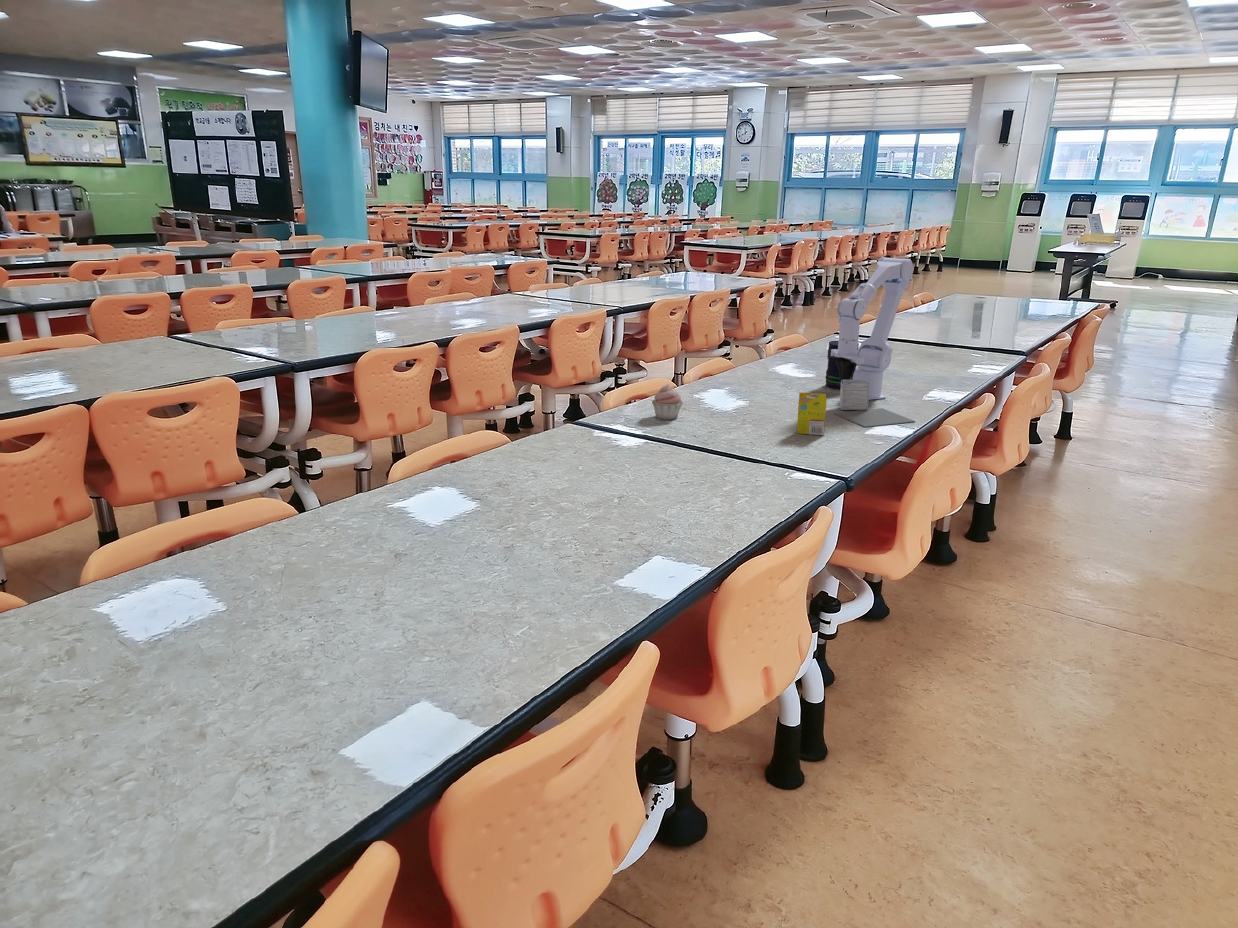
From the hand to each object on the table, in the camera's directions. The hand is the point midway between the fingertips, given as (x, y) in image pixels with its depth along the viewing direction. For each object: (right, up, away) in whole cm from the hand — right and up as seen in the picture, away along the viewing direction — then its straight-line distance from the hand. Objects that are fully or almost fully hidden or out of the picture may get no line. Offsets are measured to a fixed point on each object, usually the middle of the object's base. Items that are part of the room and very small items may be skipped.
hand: (844, 383), depth 255 cm
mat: (+5, -11, -12) cm, 17 cm away
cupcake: (-55, -11, -12) cm, 58 cm away
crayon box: (-17, -17, -27) cm, 36 cm away
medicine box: (+2, -8, -3) cm, 9 cm away
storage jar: (+5, +1, +25) cm, 26 cm away
